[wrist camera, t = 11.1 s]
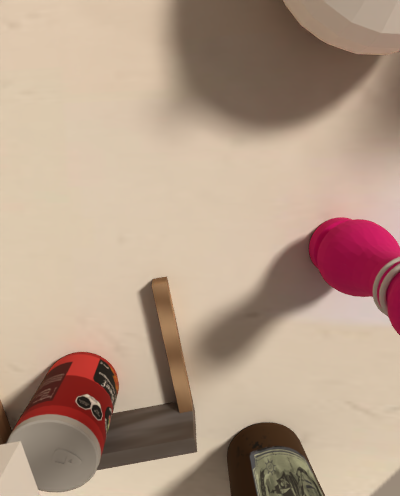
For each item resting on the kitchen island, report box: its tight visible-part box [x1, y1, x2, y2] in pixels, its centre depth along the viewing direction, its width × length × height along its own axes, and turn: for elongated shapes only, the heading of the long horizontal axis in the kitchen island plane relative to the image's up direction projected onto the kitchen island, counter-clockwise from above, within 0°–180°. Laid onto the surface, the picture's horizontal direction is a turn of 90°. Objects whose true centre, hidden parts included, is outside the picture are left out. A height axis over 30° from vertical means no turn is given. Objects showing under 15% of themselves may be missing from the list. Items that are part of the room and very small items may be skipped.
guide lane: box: [0, 277, 197, 470], centre depth 38 cm, size 17×23×6 cm
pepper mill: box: [309, 218, 400, 335], centre depth 29 cm, size 7×7×20 cm
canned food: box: [7, 352, 119, 492], centre depth 36 cm, size 8×8×11 cm
